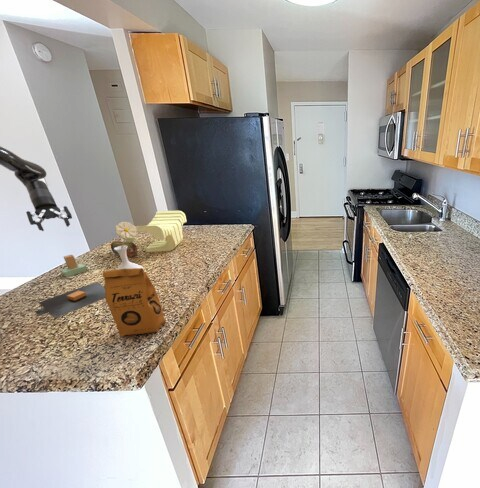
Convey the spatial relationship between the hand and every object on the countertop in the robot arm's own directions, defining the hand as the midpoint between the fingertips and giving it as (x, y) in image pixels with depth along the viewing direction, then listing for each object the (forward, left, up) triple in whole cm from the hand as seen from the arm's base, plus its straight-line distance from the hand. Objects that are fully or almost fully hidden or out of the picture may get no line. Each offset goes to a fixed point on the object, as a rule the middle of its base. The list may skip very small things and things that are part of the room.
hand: (55, 227), depth 122 cm
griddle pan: (-10, -42, -20) cm, 48 cm away
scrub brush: (-2, -11, -20) cm, 23 cm away
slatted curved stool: (+38, -16, -20) cm, 46 cm away
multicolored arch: (+20, -10, -20) cm, 30 cm away
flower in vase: (+11, -36, -20) cm, 43 cm away
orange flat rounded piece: (-10, -41, -18) cm, 46 cm away
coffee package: (-5, -81, -20) cm, 84 cm away
